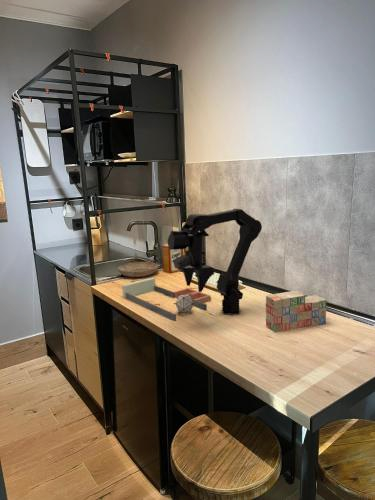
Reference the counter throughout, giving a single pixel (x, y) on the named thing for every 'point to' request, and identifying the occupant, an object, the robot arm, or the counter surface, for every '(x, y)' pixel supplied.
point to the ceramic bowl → (138, 269)
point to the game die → (184, 303)
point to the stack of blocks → (294, 311)
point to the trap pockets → (194, 295)
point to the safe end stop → (139, 287)
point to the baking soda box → (170, 259)
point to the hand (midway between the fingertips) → (194, 288)
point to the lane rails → (158, 309)
